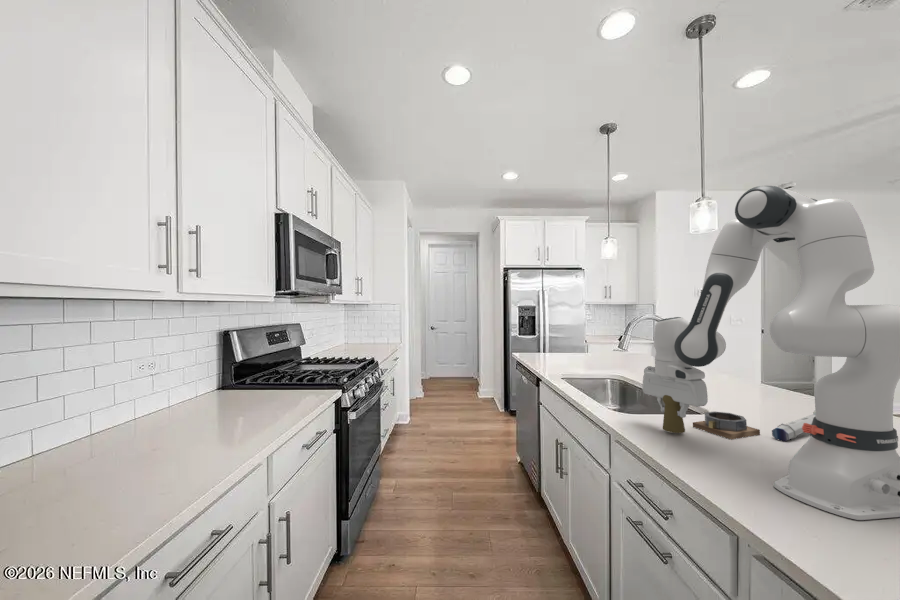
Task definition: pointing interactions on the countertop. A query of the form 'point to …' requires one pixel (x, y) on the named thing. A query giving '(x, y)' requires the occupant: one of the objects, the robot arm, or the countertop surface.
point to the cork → (672, 416)
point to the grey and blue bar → (791, 428)
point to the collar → (725, 421)
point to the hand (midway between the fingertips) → (673, 414)
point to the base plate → (727, 434)
